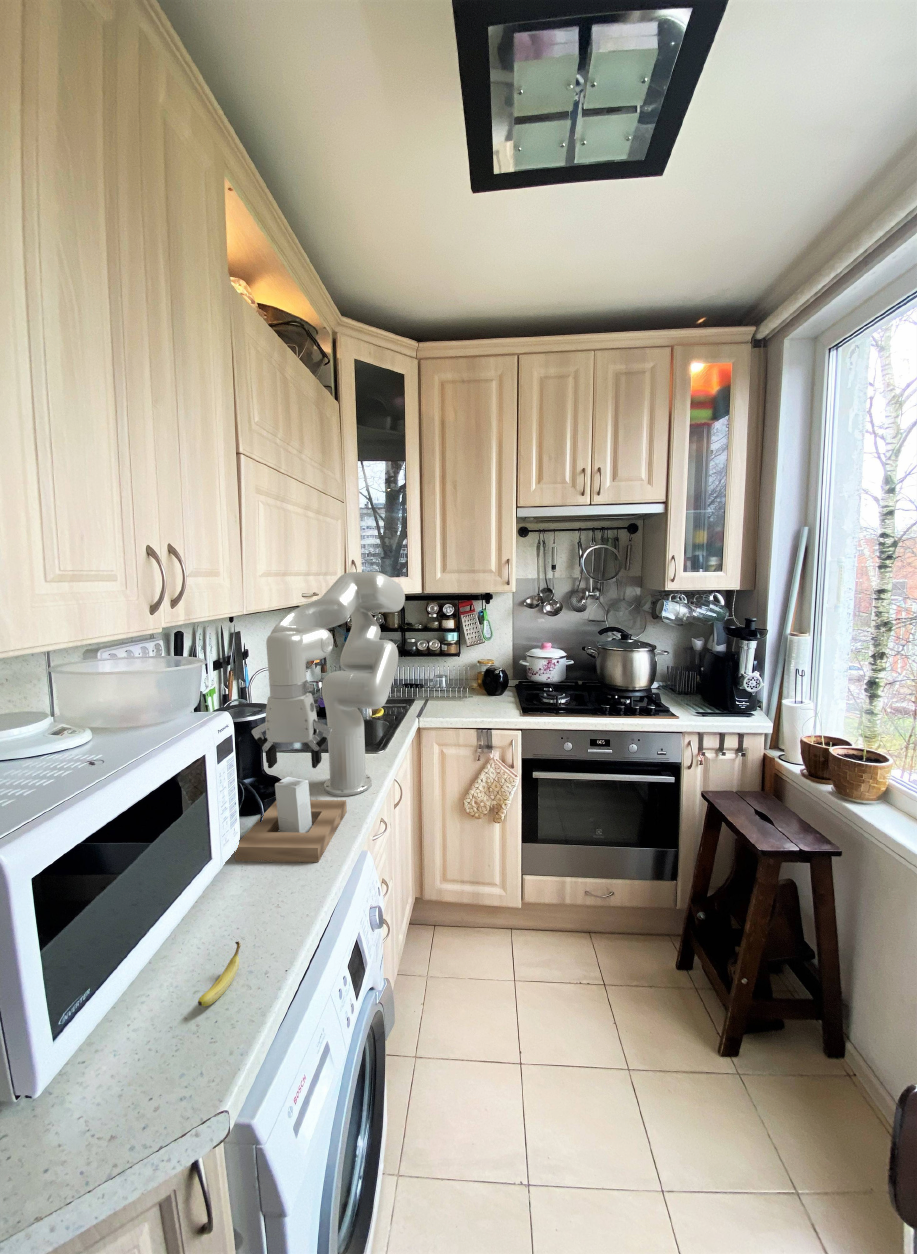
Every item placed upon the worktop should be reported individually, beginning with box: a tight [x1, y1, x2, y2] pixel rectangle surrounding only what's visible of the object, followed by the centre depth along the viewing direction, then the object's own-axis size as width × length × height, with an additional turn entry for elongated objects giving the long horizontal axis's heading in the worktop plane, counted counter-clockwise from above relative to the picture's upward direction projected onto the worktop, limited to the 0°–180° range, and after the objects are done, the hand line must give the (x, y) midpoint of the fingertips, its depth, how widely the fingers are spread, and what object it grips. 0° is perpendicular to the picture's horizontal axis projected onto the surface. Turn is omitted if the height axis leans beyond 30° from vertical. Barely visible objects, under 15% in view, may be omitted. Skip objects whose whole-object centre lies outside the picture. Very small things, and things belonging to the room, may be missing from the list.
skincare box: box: [274, 776, 313, 833], centre depth 103 cm, size 6×4×12 cm
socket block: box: [234, 799, 348, 863], centre depth 103 cm, size 20×17×3 cm
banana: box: [197, 940, 242, 1007], centre depth 64 cm, size 8×2×4 cm, turn 170°
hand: (294, 765), depth 103 cm, fingers open, 9 cm apart
